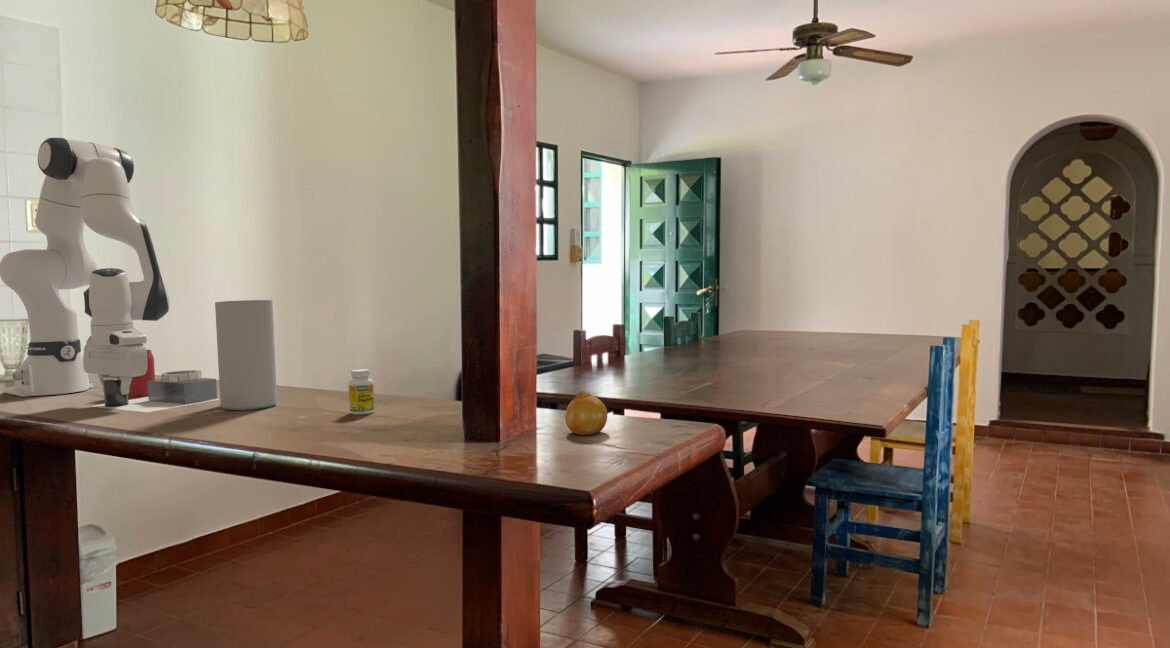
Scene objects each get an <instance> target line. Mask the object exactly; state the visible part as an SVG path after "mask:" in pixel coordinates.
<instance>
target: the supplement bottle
mask: <svg viewBox="0 0 1170 648" xmlns="http://www.w3.org/2000/svg"><path fill="white" fill-rule="evenodd" d="M370 375H371V372H370V369H368V368H359V369H352V370H351V371H350V376H351V379H350V380H349V382H348V398H349V413H350V414H351V415H354V416H357V415H359V416H361V415H370V414H372V413H374V412H375V394H374V393H375V392H374V391H375V390H374V380H373V379H372V378H370Z"/></svg>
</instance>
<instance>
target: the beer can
mask: <svg viewBox="0 0 1170 648" xmlns="http://www.w3.org/2000/svg"><path fill="white" fill-rule="evenodd" d="M146 351H147V371H146V374H145V375H142V376H135V377H132V381H131V384H130V386H129V394H128V398H145V397H148V383H147V381H150V380H156V374H155V373H156V371H155V370H156V369H155V357H154V355H153V353H152V350H151V349H146Z"/></svg>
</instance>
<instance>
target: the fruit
mask: <svg viewBox="0 0 1170 648" xmlns="http://www.w3.org/2000/svg"><path fill="white" fill-rule="evenodd" d="M564 417H565V418H564V419H565V423H566V426H567V427H568V430H570V432H572V433H573V434H575V435H578V436H591V435H595V434H598V433H600V432H601V431H602V430H603V429H604V428H605V426H606V424H607V421H608V410H607V406H606V405H605V404H604V403H603V402H602V401H601V400H600V399H599V398H598V397H597V396H595V395H592V394H591V393H590V392H589V391H580V392H577V394H576V396H575V398H573V399H572V400H570V402H569V404H568V405H567V408H566V412H565V416H564Z"/></svg>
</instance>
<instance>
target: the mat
mask: <svg viewBox="0 0 1170 648" xmlns="http://www.w3.org/2000/svg"><path fill="white" fill-rule="evenodd" d="M214 401H220V398H217V399H212V400H206V401H201V402H195V403H189V404H177V403H167V402H156V401H149V400H148V396H144V397H138V398H134V399H133V398H132V399H128V403H129V404H128V405H125V406H119V407H105V403H102V404H96V405H91V406H90V407H91V408H92V407H93V408H102V409H109V410H110V409H111V410H121V411H127V412H129V411H130V412H138V413H146V414H147V413H153V412H158V411H164V410H169V409H177V408H181V407H186V406H191V405H197V404H204V403H208V402H209V403H210V402H214Z"/></svg>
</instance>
